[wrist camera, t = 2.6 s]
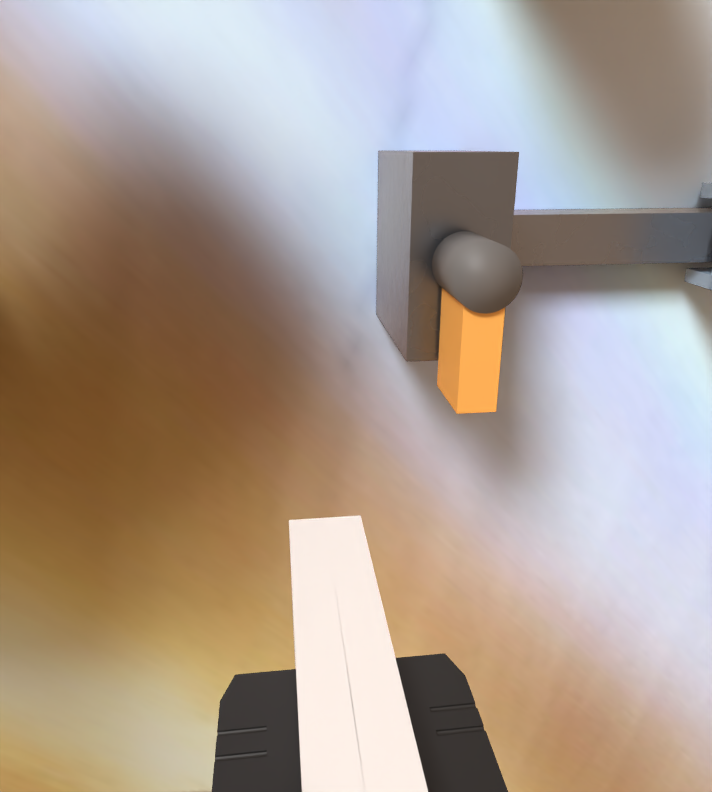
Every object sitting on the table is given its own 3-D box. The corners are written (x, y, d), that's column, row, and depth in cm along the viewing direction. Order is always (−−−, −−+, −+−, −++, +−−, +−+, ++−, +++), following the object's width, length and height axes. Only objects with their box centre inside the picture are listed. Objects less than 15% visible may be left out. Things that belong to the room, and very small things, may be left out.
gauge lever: (426, 386, 26) (446, 416, 23) (433, 231, 24) (456, 243, 21) (483, 383, 27) (509, 413, 24) (494, 230, 24) (526, 242, 21)
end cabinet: (376, 317, 34) (406, 364, 26) (378, 150, 31) (412, 151, 23) (450, 314, 34) (500, 361, 27) (459, 150, 31) (518, 152, 24)
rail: (462, 258, 33) (477, 267, 31) (466, 210, 32) (481, 215, 30) (798, 252, 35) (835, 259, 33) (809, 206, 34) (848, 210, 32)
